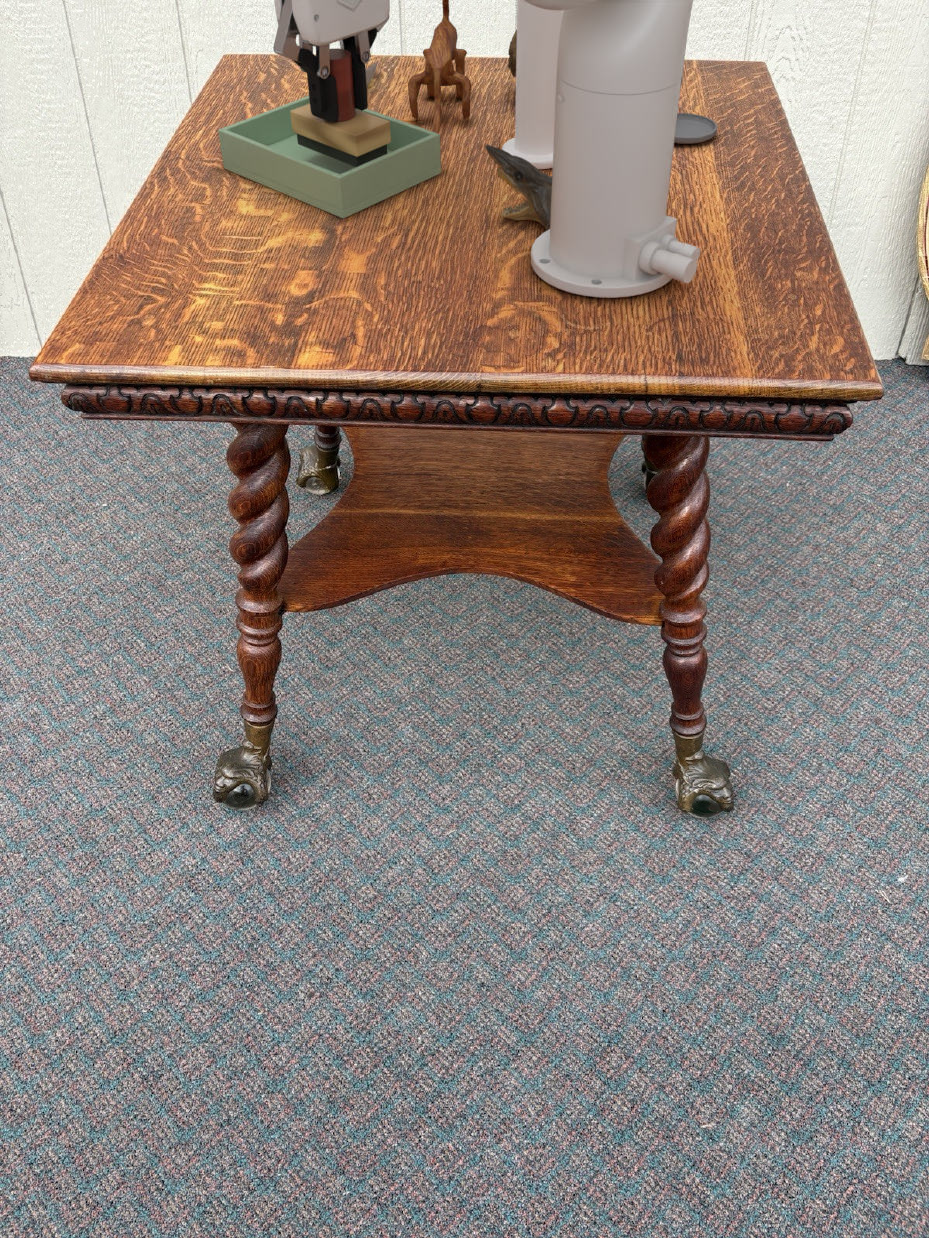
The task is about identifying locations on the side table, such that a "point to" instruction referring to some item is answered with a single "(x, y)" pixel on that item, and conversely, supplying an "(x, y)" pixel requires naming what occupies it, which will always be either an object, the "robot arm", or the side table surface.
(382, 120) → the stamp
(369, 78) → the pocket knife
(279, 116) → the tray
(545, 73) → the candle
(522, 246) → the side table surface
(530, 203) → the shark head
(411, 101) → the wooden animal figurine
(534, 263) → the robot arm
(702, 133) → the dark grey round piece
